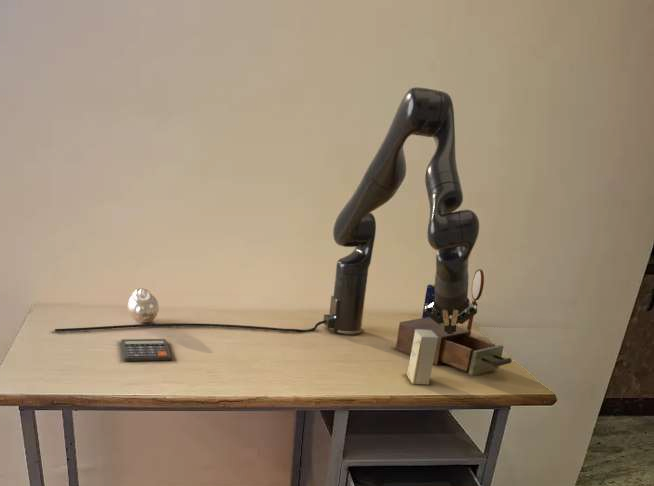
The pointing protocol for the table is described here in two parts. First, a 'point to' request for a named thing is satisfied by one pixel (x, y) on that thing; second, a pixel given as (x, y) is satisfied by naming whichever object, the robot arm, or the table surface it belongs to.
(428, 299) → the cassette player
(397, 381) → the table surface
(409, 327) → the cabinet
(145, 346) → the calculator
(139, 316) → the silver rounded lump
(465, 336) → the drawer
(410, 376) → the cosmetic box
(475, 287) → the magnifying glass
